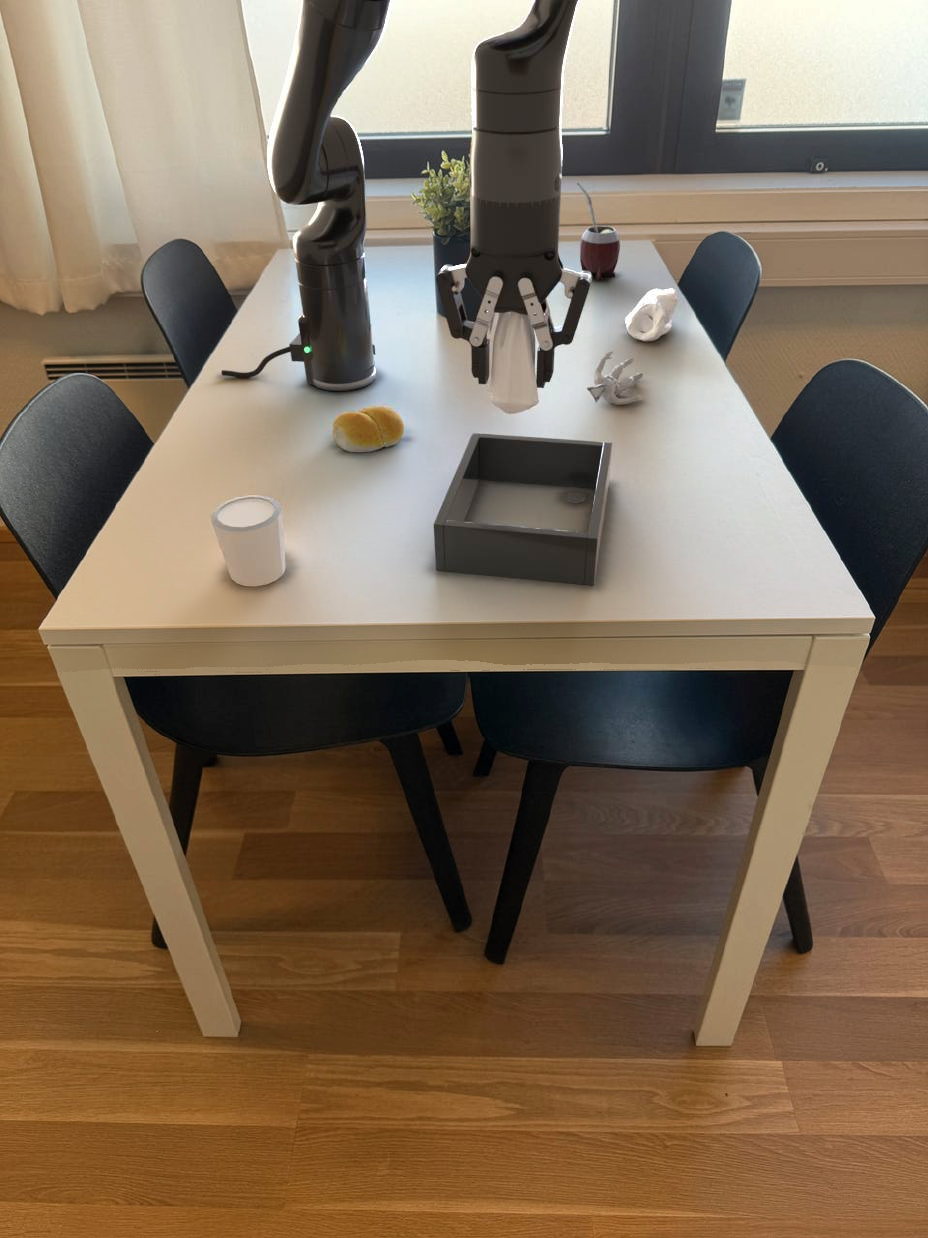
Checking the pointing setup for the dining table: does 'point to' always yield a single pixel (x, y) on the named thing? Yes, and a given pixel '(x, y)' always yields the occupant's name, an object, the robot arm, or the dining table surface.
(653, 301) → the white irregular lump
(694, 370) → the dining table surface
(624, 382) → the soldier figure
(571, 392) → the dining table surface
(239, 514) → the white cylinder
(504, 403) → the shaker set
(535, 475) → the grey open box
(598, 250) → the mate gourd
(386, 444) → the bread roll
